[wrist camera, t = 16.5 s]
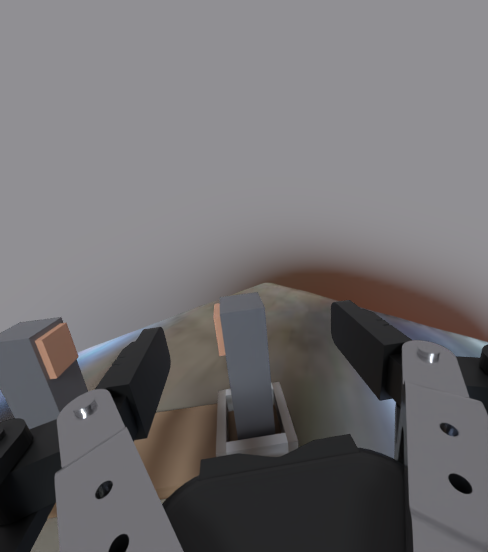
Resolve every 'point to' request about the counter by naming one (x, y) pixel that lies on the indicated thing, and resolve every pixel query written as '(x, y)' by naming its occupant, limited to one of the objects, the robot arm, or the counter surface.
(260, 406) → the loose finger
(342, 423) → the counter surface
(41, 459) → the robot arm
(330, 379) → the counter surface
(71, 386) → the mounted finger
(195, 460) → the wooden base with sockets
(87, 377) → the counter surface
